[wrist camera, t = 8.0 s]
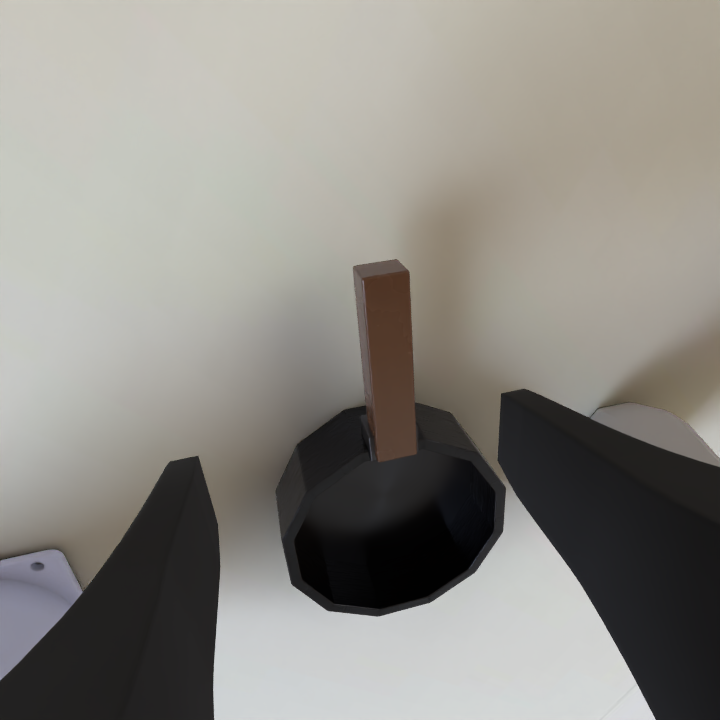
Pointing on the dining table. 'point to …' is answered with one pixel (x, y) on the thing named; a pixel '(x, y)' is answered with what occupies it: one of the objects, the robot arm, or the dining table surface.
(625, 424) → the salt shaker
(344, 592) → the pan
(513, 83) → the dining table surface
